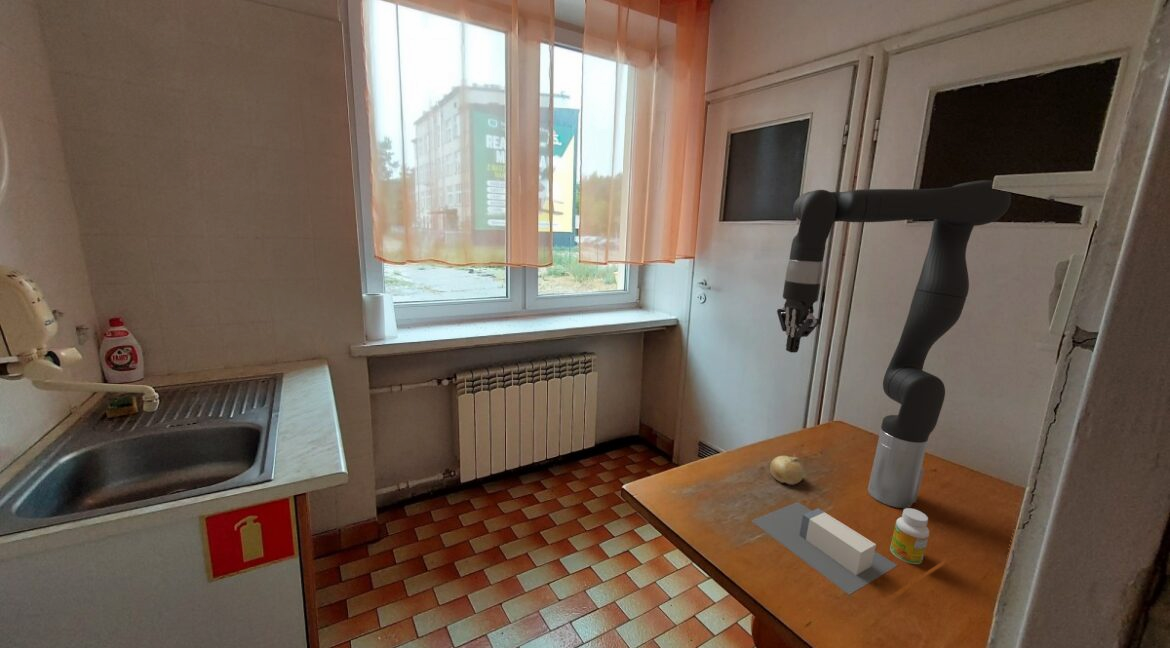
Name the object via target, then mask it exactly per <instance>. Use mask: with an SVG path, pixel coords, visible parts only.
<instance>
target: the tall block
mask: <svg viewBox="0 0 1170 648" xmlns="http://www.w3.org/2000/svg"><path fill="white" fill-rule="evenodd" d="M800 536H801V537H803V538H804V539H805V540H807V541H808V542H810V543H811V544H812V545H814V546H815V547H817V548H818V549H820V550H821V551H822V552H824V553H825V554H827V555H828V556H829V557H831V558H832V559H834V560H835V561H836V562H838V563H839V564H841V565H842V566H844V567H845V568H846V569H848V570H849V571H851V572H852V573H853V574H855V575H857V574H859V573H861V572H863V571H864V570H866V569H868V568H870V567H871V565H872V561H873V556H874V552H875V551H876V547H877V544H876V543H875V542H873V541H872V540H869V539H868V538H866V537H865V536H863V535H862V534H860V533H859V532H857V531H856V530H854V529H853V528H850V527H849V526H847V525H846V524H844V523H843V522H841V521H839V520H837V519H836V518H834V517H833V516H831V515H830V514H828V513H826V512H825V511H823V510H821V509H820V508H818V507H817V508H816V509H814V510H812V511H810V512H808V513H806V514H803V518H802V523H801V529H800Z"/></svg>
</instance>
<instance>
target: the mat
mask: <svg viewBox="0 0 1170 648" xmlns="http://www.w3.org/2000/svg"><path fill="white" fill-rule="evenodd" d="M810 511H813V510H812V509H810V508H808V507H807V506H805V505H804V504H802V503H801V502H799V501H796V502H793V503H791V504H789V505H787V506H784V507H782V508H779V509H776V510H774V511H772V512H769V513H766V514H764V515H762V516H758V517H755V518H754V519H752V520H751V519H750V522H752V523H753V524H754V525H756V526H757V527H758V528H760V529H761V530H762V531H764V532H765V533H766V534H767V535H769V536H770V537H772V539H775V540H776V541H777V542H778V543H779V544H781V545H782V546H783V547H785V548H786V549H788V550H789V551H790V552H791V553H792V554H794V555H795V556H797V557H798V558H799V559H800V560H802V562H804V563H806V564H807V565H808V566H810V567H811V568H813V570H815V571H817V572H818V573H819V574H820V575H822V576H823V577H825V578H826V579H827V580H828V581H830V582H831V583H833V584H834V585H835V586H836V587H838V588H839V589H840V590H841V591H843V592H844V593H846V594H847V595H848V596H851V595H852V594H853V593H855V592H856V591H858V590H860V589H862V588H863V587H865V586H866V585H868V584H870V583H871V582H873V581H875V580H876V579H878V578H880V577H882V576H883V575H884V574H886V573H888V572H889V571H891V570H893V569H894V568H896V567H897V566H898V564H897V563H895V562H894V561H892V560H890V559H888V558H887V557H885V556H884V555H882V554H881V553H879V552H878V551H876V550H875V552H874V556H873V561H872V565H871V567H870V568H868V569H866V570H864V571H863V572H861V573H859V574H857V575H855V574H853V573H852V572H851V571H849V570H848V569H846V568H845V567H844V566H842V565H841V564H839V563H838V562H836V561H835V560H834V559H832V558H831V557H829V556H828V555H827V554H825V553H824V552H822V551H821V550H820V549H818V548H817V547H815V546H814V545H812V544H811V543H810V542H808V541H807V540H805V539H804V538H803V537H801V536H800V529H801V523H802V518H803V514H806V513H808V512H810Z"/></svg>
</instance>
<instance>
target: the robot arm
mask: <svg viewBox="0 0 1170 648" xmlns="http://www.w3.org/2000/svg"><path fill="white" fill-rule="evenodd" d="M992 181H993V180H988V179H987V180H986V179H983V180H982V179H981V180H980V179H979V180H975V181H974V180H973V181H967V182H962V183H958V184H954V185H953V186H948V187H947V186H946V187H940V188H937V187H936V188H918V189H917V188H916V189H915V188H912V189H911V188H872V189H871V188H870V189H869V188H867V189H853V190H847V191H829V190H825V189H816V190H812V191H808V192H805V193H803V194H801V195H800V196H799V197H798V198H797V199H796V200H795V202H794V204H793V209H792V210H793V215H794V216H795V218H797V219H798V220H799V221H800V222H799V226H798V229H797V234H796V235H794V237H793V239H792V240H791V241H792V242H791V247H790V253H789V259H788V263H787V267H786V273H785V278H784V285H783V291H782V292H783V293H782V298H783V299H784V300H785V303H784V305H783V307H782V308H778V309H777V310H776V314H777V316H778V320H779V324H780V327H781V330H782V332H785V334H786V336H787V338H786V344H785V347H786V348H785V351H787V352H789V353H790V354H791V353H798V351H799V348H800V344H801V338H805V337H808V336H809V335H810V334H811V333H812V332H813V331H814V330H815V329H816V327H817V326H818V325H819V324H820V321H821V320H820V318H816V317H815V315H814V313H815V312H814V311H815V310H814V304H815V303H816V302H818V301H819V295H820V289H821V284H822V278H823V277H822V276H823V270H824V269H823V268H824V267H823V266H824V265H823V264H824V258H825V252H826V246H827V244H826V243H827V239H828V237H829V235H830V232H831V229H832V227H833V224H834V222H843V223H844V222H845V223H883V222H884V223H885V222H898V221H911V220H912V221H913V220H914V221H915V220H933V225H932V230H931V231H932V232H931V234H930V235H931V237H930V242H929V245H928V249H927V252H926V255H925V258H924V262H923V265H922V267H921V273H920V275H919V278H918V281H917V284H916V287H915V290H914V293H913V297H912V300H911V303H910V308H909V311H908V314H907V318H906V320H905V323H904V326H903V329H902V332H901V335H900V338H899V342H898V343H897V346H896V348H895V351H894V353H893V355H892V357H891V360H890V361H889V364H888V367H887V368H886V371H885V373H884V376H883V381H882V389H883V392H884V394H885V396H887V397H888V398H889V399H891V400H892V401H895V402H896V403H898V404H899V405H900V408H899V411H898V413H897V414H891V415H890V414H889V415H886V416H884V417H883V418H882V422H881V425H880V432H879V436H878V440H877V445H876V450H875V454H874V460H873V463H872V467H871V468H872V469H871V471H870V472H871V473H870V477H869V483H868V486H867V492H868V494H869V495H870V496H871V497H872V498H873V499H875V500H876V501H878V502H880V503H882V504H884V505H887V506H890V507H893V508H898V509H906V508H911V507H912V505H913V504H916V503H917V499H918V495H919V491H920V487H921V484H922V480H923V479H922V478H923V474H924V471H925V467H923V462H924V458H925V454H926V450H927V449H926V448H927V444H928V441H929V437H930V435H931V433H933V432H934V430H935V429H936V426H937V423H938V421H939V416H940V415H941V410H942V408H943V405H944V401H945V396H946V388H945V384H944V382H943V381H942V379H941V378H939V377H938V376H937V375H934V374H932V373H930V372H927V371H925V370H923V369H924V365H925V361H926V359H927V356H928V353H929V351H930V350H931V348H932V347H933V346H934V344H935V343H936V342H937V341H939V339H940V338H941V337H943V336H944V335H945V334H946V333H947V332H948V331H949V330H951V329H952V328H953V327H954V326H955V324H956V323H957V322H958V321H959V319H960V317H961V315H962V312H963V309H964V306H965V303H966V300H967V297H968V295H969V288H970V280H969V279H970V278H969V272H968V271H969V270H968V265H967V258H966V257H967V255H966V254H967V247H968V243H969V240H970V238H971V234H972V232H973V229H974V227H976V226H983V225H987V224H990V223H993V222H995V221H997V220H998V219H1000V218H1002V216H1004V215H1005V214H1006V213H1007V211H1008V209H1010V208H1009V207H1010V206H1011V201H1012V196H1011V192H1010V193H1008V192H1003V191H998V190H994V189H992V187H991V185H992Z"/></svg>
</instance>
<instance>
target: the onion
mask: <svg viewBox="0 0 1170 648" xmlns="http://www.w3.org/2000/svg"><path fill="white" fill-rule="evenodd" d="M769 470H770V474H771V475H772V477H773V478H774V479H775V480H776V481H777V482H778V483H781V484H784V483H785V484H787V485H789V486H790V485H791V486H794V485H796V484H799V483H800V482H801V481H802V480H803V478H804V476H805V470H804V467H803V464H802V463H801V462H800V461H799V458H798V457H797V456H796V454H795V453H794V454H793V456H789V455H779V456H776V457H774V459H772V461H770V465H769Z"/></svg>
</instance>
